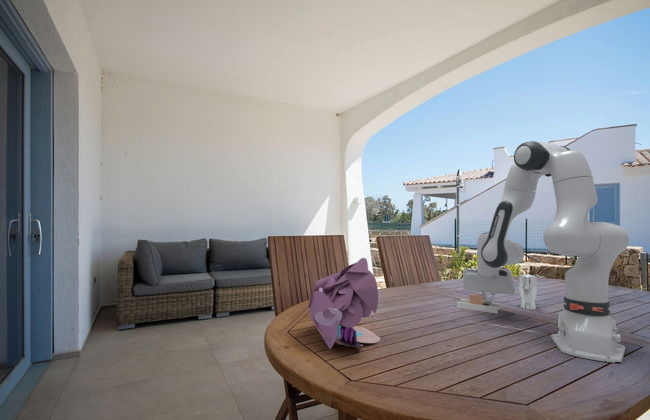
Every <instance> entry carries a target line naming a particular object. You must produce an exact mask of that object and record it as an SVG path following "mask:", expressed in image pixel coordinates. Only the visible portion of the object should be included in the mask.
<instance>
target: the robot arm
mask: <svg viewBox="0 0 650 420" xmlns="http://www.w3.org/2000/svg"><path fill="white" fill-rule="evenodd" d="M513 161H514V163H513V164H511V166H510V167H509V170H508V173H507V177H506V180H505V183H504V189H503V193H502V196H501V199H500V202H499V204H497V207H496V209H495V211H494V214H493V217H492V222H491V224H490V228H489V232H483V233H481V234H479V236H478V238H477V245H476V248H477V249H476V251H477V253H476V254H477V262H476V264H477V265H476V268H469V267H467V268H465V269H464V270H463V271H462V277H463V284H462V288H463V289H464V290H466V291H468V290H469V291H476V292H481V294H482V295H483V297H484V302H486V303H493V299H494V297H495V296H496V294H503V295H510V296H514V295H515V294H516V283H515V279H514V277H513V276H512V275H513V271H512V270H511V269H508V268H506V267H504V266H512V265H517V264H519V263H521V262H522V261H523V260H524V257H525V250H524V248H523V246H522V245H521V244H520V243H518V242H517V241H513V240H510V239H508V238H507V235H508V232H509V229H510V225H511V223H512V221H513V220H514V219H515V218H516V217H518V216H519V215H521V214H522V213H524V212H526V211H528V210H529V209H530V208H531V207H532V205H533V203H534V202H535V199H536V192H537V187H538V183H539V182H538V181H539V179H540V178H541V177H542V176H544V177H547V178H549V177H551V179H552V185H553V189H554V190H553V191H554V196H555V201H556V213H555V216H554V220H553V221H552V222H551V224H550V225H548V226H547V227H546V229H545V231H544V234H543V243H544V246H545V247H546V248H547V250H548V251H549V252H551V253H553V254H556V255H561V256H566V257H578V258H577V260H576V262H575V264H574V265H573V266H572V267H571V268H569V269H567V271H566V272H565V274H564V296H563V300H562V303H563V304H562V306H563V308H564V309H563V310H561V311H560V312H559V313H558V316H557V317H558V318H557V319H558V320H557V321H558V322H557V324H558V325H557V333H552V334H551V336H550V338H551V340H552V341H553V342H554V344H555V345H556V346H557V348H558V349H559V351H560V352H562V353H563V354H567V355H570V356H573V357H577V358H582V359H587V360H591V361H592V360H593V361H598V362H599V361H600V362H605V361H606V363H615V362H621V363H622V362H623V360H624V359H623V358H624V356H625V352H626V346H625V345H623V344H621V343H622V341H621V339H622V337H621V334H620V333H619V327H617V323H616V320H615V319H614V318H613V317H611V309H612V308H611V303H610V301H609V279H610V278H609V277H610V274H611V270H612V267H613V265H614V263H615V262H616V259H617V258H618V257H619V255H621V254H622V253H623V252H624V251H625V250H627V248H628V246H629V243H630V238H629V237H630V236H629V234H628V231H626V229H625V228H624V227H622V226H621V225H618V224H615V223H611V222H607V221H606V222H604V221H589V213H590V210H591V209H592V208H593V207H595V206H596V205H597V203H598V199H599V198H598V194H597V190H596V185H595V180H594V177H593V174H592V173H593V172H592V170H591V167H590V165H589V162H588V161H587V158H586V157H585V155H584V154H583V153H582V152H581V151H579V150H575V149H573V150H572V149H570V148H568V147H567V146H564V145H558V144H554V143H552V142H551V143H550V142H544V141H535V140H534V141H533V140H532V141H525V142H522V143H520V145H518V146H517V147H516V149H515V151H514V154H513ZM487 293H490V295H491V297H487V295H486V294H487ZM619 343H620V344H619Z"/></svg>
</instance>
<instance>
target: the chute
mask: <svg viewBox="0 0 650 420" xmlns="http://www.w3.org/2000/svg"><path fill="white" fill-rule="evenodd" d="M500 307H501V304H500V303H497V302H496V303H495V302H492V303H486V302H485V301H484V305H478V304H471V303H470V299H466V298H465V299H464V298H459V301H456V308H457V309H463V310H468V311H469V310H470V311H478V312H485V313H492V314H499V312H500V309H501V308H500Z"/></svg>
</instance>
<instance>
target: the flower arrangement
mask: <svg viewBox="0 0 650 420" xmlns="http://www.w3.org/2000/svg"><path fill="white" fill-rule="evenodd" d="M378 305H379V290H378V284H377V280H376V278H375V275H374V274H373V273H372V271H370V270H369V264H368V259H367V258H366V257H362V258H360V259H359V260H358V261H356V262H354V263H352V264H349V265H347V266H346V267H345V268H344V269H342V270H341V271H339V272H336V273H334V274H330V275H328V276H325V277H323V278H320V279H318V280H316V281H315V284H314V287H313V290H312V293H311V297H310V299H309V302H308V308H309V316H310V317H309V318H310V319H311V321H312V323H313V325H314V326H315V328H316V329H317V331H318V332H319V334H320V336H321V338H322V339H323V341H324V342H325V344H326V346H327V347H328V349H329V350H331V349H332V348H333V346H334V344H335V343H336V344H338V345H343V346H346V347H354V348H359V349H360V347H364V345H363V344H376V343H378V342H380V341H381V338H380V336H378V335H376V333H375V332H373V331H372V330H370V329H367V328H366V327H363V326H360V327H359V326H358V325H359V323H361V321H362V319H363V318H369V317H370V315H371V314H372V312H373V314H376V313H377V310H378ZM361 343H363V344H361Z"/></svg>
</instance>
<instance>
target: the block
mask: <svg viewBox="0 0 650 420" xmlns="http://www.w3.org/2000/svg"><path fill="white" fill-rule="evenodd" d="M469 300H470V303H471V304H478V305H484V302H485V298H484V297H483V295H482V293H476V292H471V293H470V294H469Z"/></svg>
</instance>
